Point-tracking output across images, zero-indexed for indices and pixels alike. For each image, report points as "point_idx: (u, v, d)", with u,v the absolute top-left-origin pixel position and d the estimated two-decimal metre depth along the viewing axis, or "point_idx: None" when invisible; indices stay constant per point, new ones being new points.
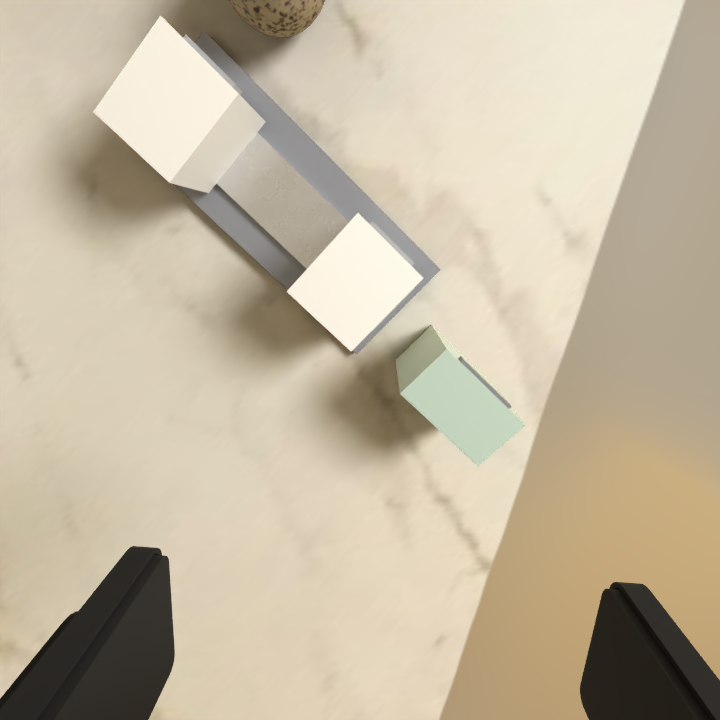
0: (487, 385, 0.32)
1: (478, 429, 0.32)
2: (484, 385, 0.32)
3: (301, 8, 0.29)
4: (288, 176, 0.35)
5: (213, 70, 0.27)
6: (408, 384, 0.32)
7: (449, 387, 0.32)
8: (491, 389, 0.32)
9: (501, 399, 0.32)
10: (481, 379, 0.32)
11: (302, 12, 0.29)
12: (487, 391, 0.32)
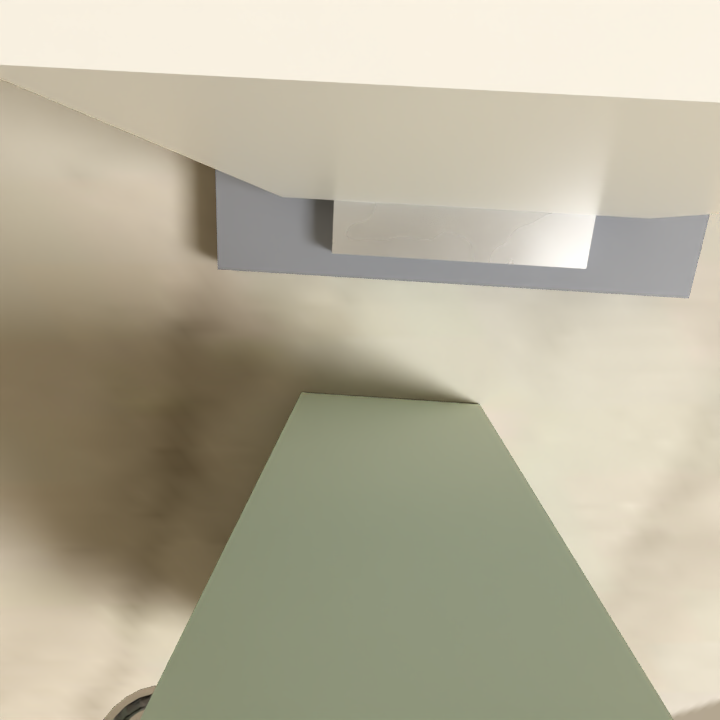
0: None
1: None
2: None
3: None
4: None
5: None
6: None
7: None
8: None
9: None
10: None
11: None
12: None
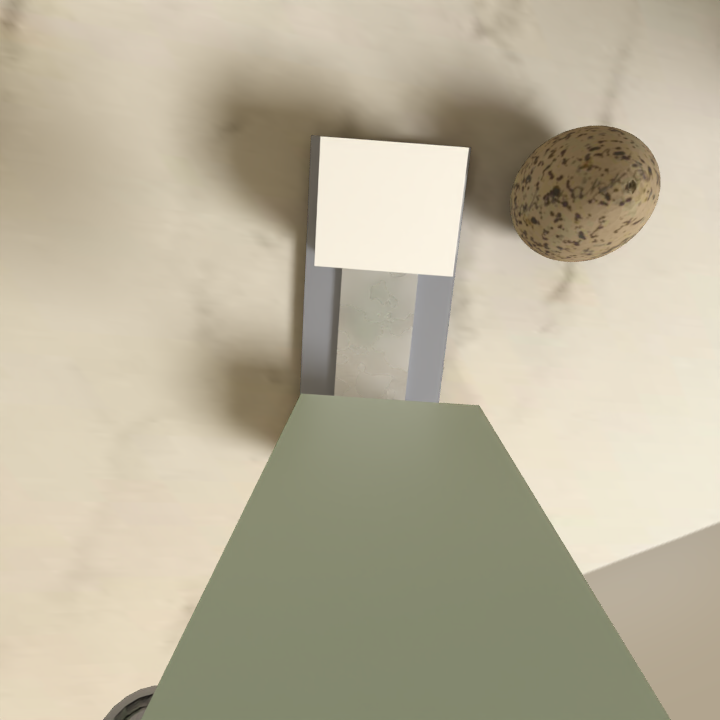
0: None
1: None
2: None
3: (562, 257, 0.25)
4: (402, 323, 0.31)
5: (455, 237, 0.22)
6: None
7: None
8: None
9: None
10: None
11: (558, 257, 0.26)
12: None
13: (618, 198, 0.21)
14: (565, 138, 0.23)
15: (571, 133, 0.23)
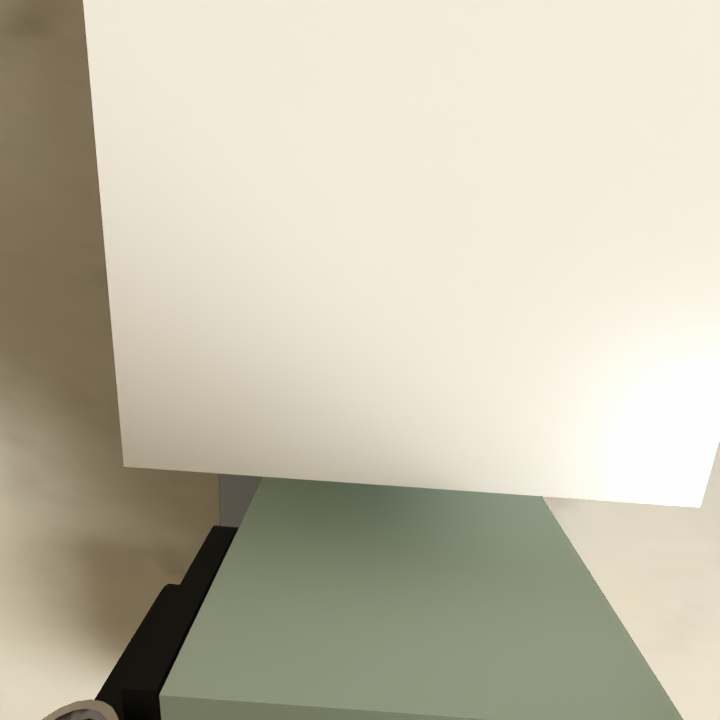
0: None
1: None
2: None
3: None
4: None
5: None
6: (261, 687, 0.04)
7: None
8: None
9: None
10: None
11: None
12: None
13: None
14: None
15: None
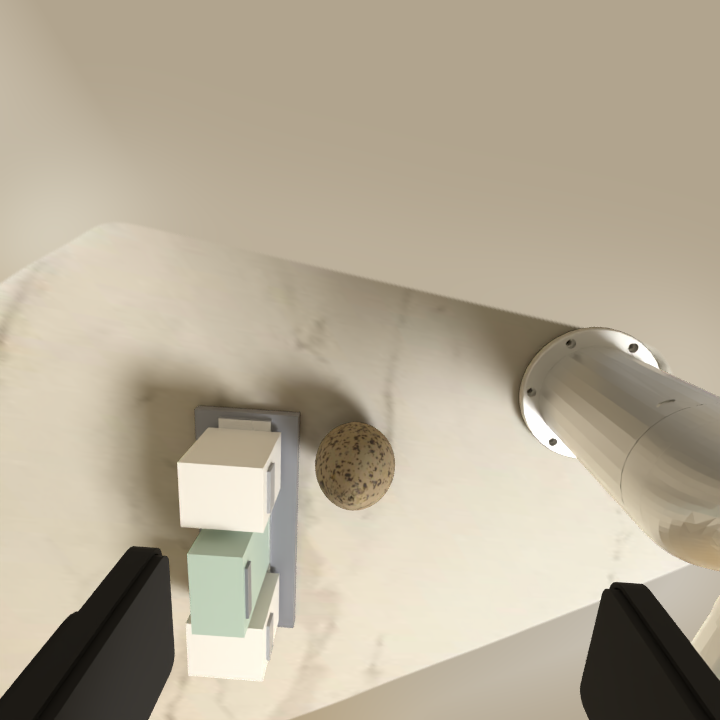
0: (246, 595, 0.38)
1: (214, 615, 0.38)
2: (244, 595, 0.38)
3: None
4: None
5: (262, 512, 0.38)
6: (198, 553, 0.37)
7: (222, 578, 0.37)
8: (246, 599, 0.38)
9: (246, 609, 0.38)
10: (246, 589, 0.38)
11: None
12: (241, 601, 0.38)
13: (346, 502, 0.36)
14: (332, 446, 0.38)
15: (336, 441, 0.38)
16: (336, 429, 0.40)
